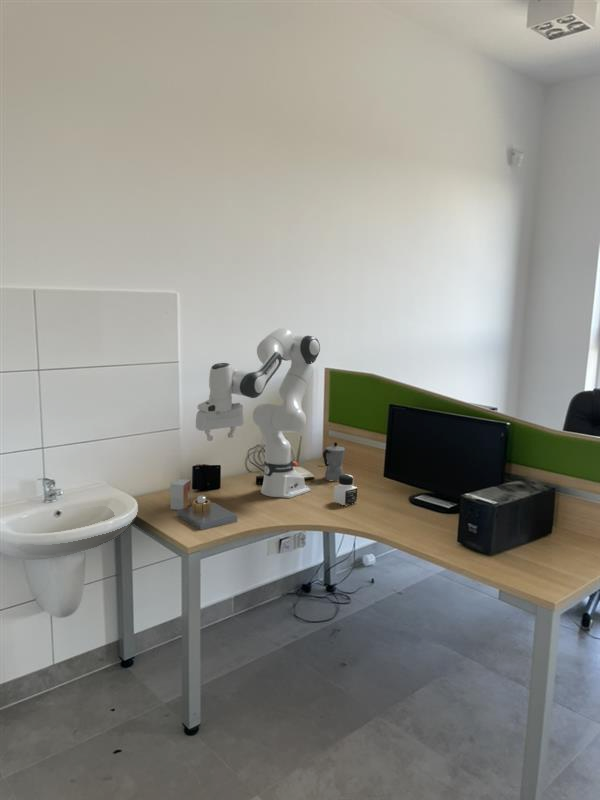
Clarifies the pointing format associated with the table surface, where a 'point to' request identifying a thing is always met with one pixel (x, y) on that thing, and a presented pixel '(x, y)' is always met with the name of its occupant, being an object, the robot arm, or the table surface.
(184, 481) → the small box
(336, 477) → the coffeepot
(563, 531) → the table surface
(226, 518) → the block
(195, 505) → the ring
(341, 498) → the medicine bottle
